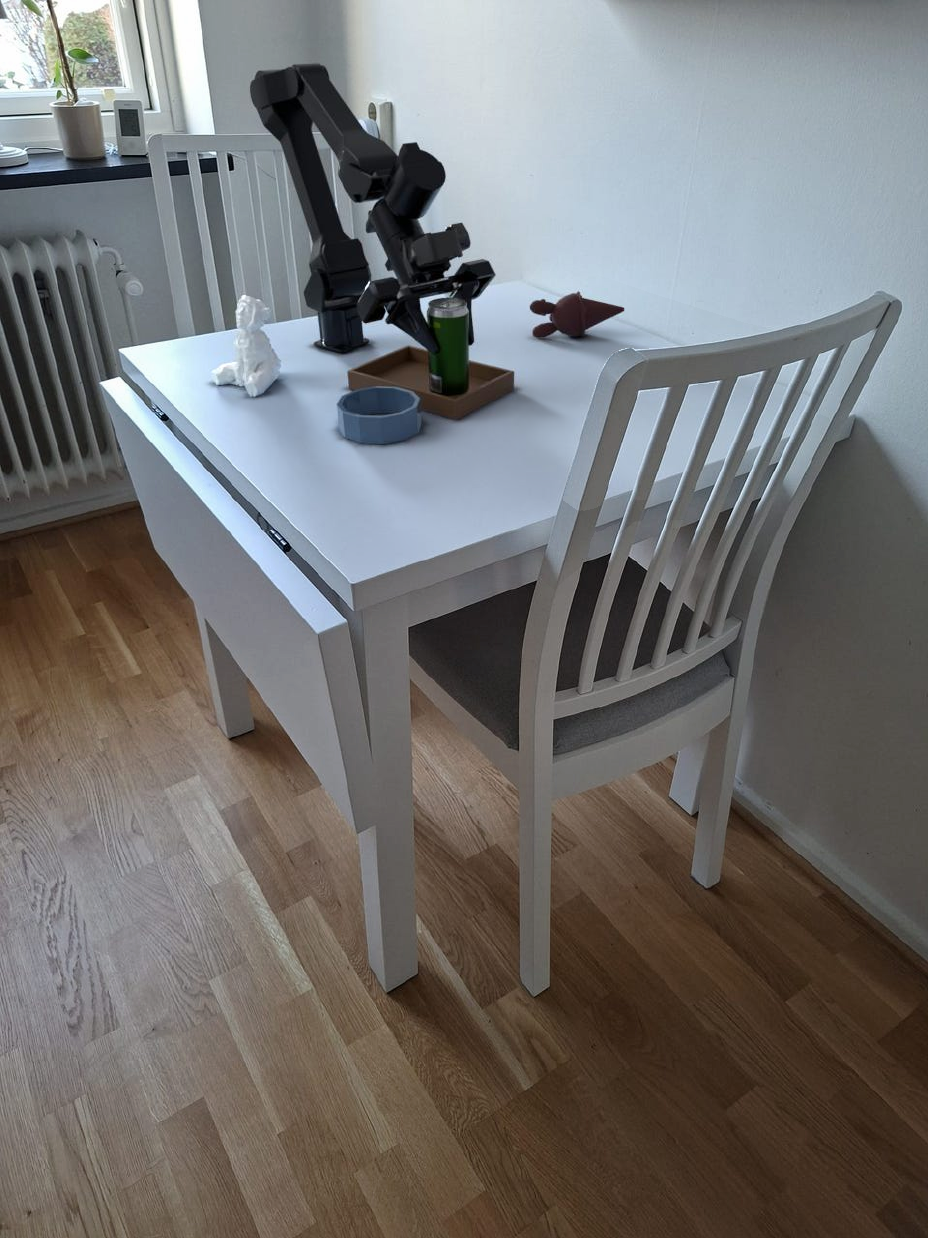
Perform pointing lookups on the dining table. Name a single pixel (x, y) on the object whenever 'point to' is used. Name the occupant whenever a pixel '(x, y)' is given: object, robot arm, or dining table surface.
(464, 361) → the beer can
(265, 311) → the white creature statuette
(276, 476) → the dining table surface
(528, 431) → the dining table surface
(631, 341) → the dining table surface
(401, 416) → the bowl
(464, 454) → the dining table surface
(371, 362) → the tray
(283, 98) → the robot arm
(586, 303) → the icecream
